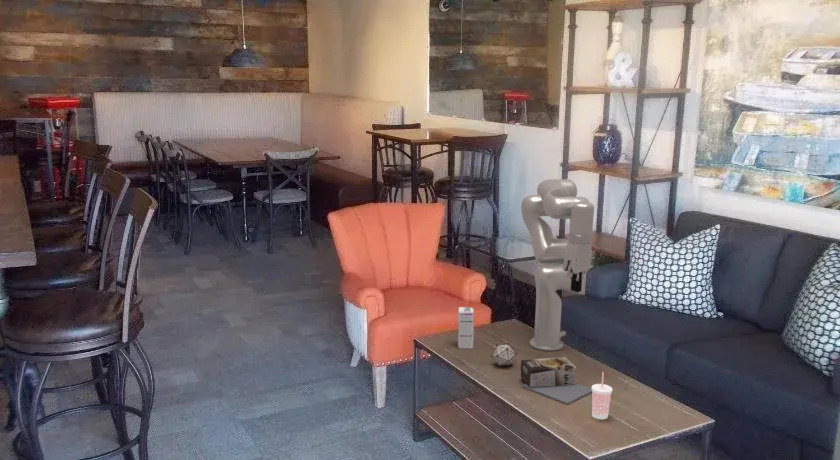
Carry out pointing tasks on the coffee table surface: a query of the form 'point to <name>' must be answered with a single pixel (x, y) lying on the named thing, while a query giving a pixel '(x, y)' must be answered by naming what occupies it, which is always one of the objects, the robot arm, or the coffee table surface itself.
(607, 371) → the coffee table surface
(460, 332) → the syrup box
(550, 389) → the mat
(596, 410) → the beverage cup
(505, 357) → the game die
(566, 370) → the coffee box
